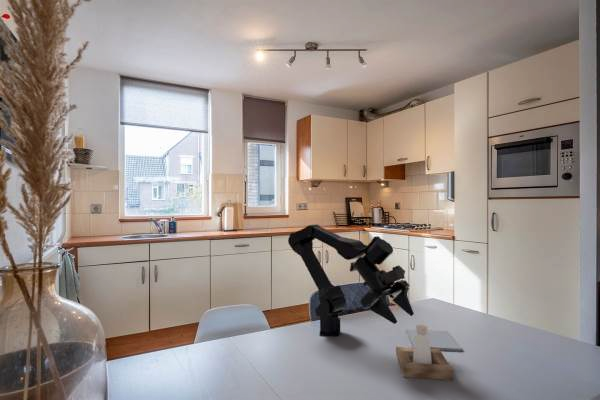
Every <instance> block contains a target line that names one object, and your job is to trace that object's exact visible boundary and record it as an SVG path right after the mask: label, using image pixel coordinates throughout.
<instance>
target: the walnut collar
mask: <svg viewBox="0 0 600 400" xmlns="http://www.w3.org/2000/svg"><path fill="white" fill-rule="evenodd" d="M430 351H431V360H432V364H421V363H413V362H412V361H413V353H414V348H413V347H403V346H395V356H396V359H397V362H398V365H399V368H400V371H401V375H402V378H411V379H412V378H414V379H417V378H418V379H432V380H445V381H446V380H447V381H448V380H449V381H450V380H451V381H453V380H454V371H453V370H454V369H453V368H452V367H451V365H450V363H449V362H448V360H447V358H445V356H444V354H443V353H442V350H439V349H430Z"/></svg>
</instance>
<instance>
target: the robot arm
mask: <svg viewBox="0 0 600 400" xmlns="http://www.w3.org/2000/svg"><path fill="white" fill-rule="evenodd" d="M287 240H288V245H289V247H290V248H291V249H292V251H293V252H294V253H295V254H297V255H298V256H299V257H301V260H302V261H303V263H304V264H305V265H304V266H305V267H306V269H307V271H308V272H309V273H308V274H310V276H311V278H312V280H313V282H314V284H315V287H316V288H317V290H318V301H319V305H317V307H315V308H314V312H315V316H316V317H319V336H328V337H339V336H340V333H341V317H340V316H339V314H342V313H343V312H344V308H345V307H346V304H347V300H346V297H345V296H346V294H345V293H344V292H343V290H342V288H341V286H340V285H333V284H332V282H331V280H330V279H329V277H328V276H327V274H326V272H325V270H324V267H322V264H321V263H320V261H319V258H317V256H316V254H315V252H314V250H313V249H314V248H313V247H314V246H313V245H314V243H313V242H314V240H318V241H319V242H322V243H324V244H325V245H327V246H329V247H331V248H333V249H335V251H336V252H337V254H338V255H339V256H340V257H342V258H343V259H345V260H347V261H350V260H355V259H356V260H355V261H352V262H350V266H349V272H350V273H351V272H356V271H357V273H358V274H359V275H360V277H361V278H362V280H363V281H364V282H363V283H362V284H363V286H364V287H368V288H369V290H368V291H367V292H366V293H365V294H364V295H363V296H362V297H361V298H360V305H361V306H362V308H363V309H364V310H366V309H367V310H368V311H371V312H373V313H375V314H377V315H378V316H380V317H382V318H384V319H385V320H387V321H389V322H391V323H392V324H394V325H395V324H397V323H398V320H397V318H396V316H395V315H394V313H393V312H392V310H391V308H390V306H388V303H387V297H390V298H391V299H392V300H391V301H392V302H393V303H395V305H397V306H398V307H399V308H400V309H402V310H403V311H404V312H405V313H406V314H407V315H409V316H411V317H412V316H414V314H415V312H414V311H413V308H412V305H411V303H410V301H409V296H408V291H409V290H410V288H409V287H410V284H409V283H408V281H407V280H406V277H405V274H406V271H405V269H403V267H401V265H396V266H393V267H392V270H389V271H387V272H386V270H384V269H381V270H380V268H379V267H378V266H377V265H379V266H380V265H382V264H383V263H384V262H385V261H386V260H387V259H388V257H389V256H391V255H392V254H393V252H394V248H393V246H392V245H391V243H390V242H387V241H386V240H384V239H382V238H381V237H380V236H378V235H376V236H374V237H373V238H372V240H371V241H370V242H369V244H368V245H367V244H365V243H364V242H362V241H361V240H357V239H354V238H350V237H349V238H348V237H343V236H341V235H339V234H336V233H335V232H332V231H331V230H328V229H327V228H324V227H322V226H320V225H319V224H309V225H306V226H305V227H304V228H302V229H300V230H297V231H295V232H291V233H290V234H289V237H288V239H287ZM404 279H405V280H404Z"/></svg>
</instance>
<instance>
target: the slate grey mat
mask: <svg viewBox="0 0 600 400" xmlns="http://www.w3.org/2000/svg"><path fill="white" fill-rule="evenodd" d="M404 332H405V334H406V335H407V338H408V340H409V342H410V345H411V347H412V348H414V342H415V334H416V333H417V329H412V328H411V329H409V328H406V329H405V331H404ZM427 335H429V342H430V349H439V350H440V351H447V352H463V348H462V347H461V345H460V344H459V343H458V342H457V341H456V339H455V338H454V336H453V335H452V334H451V333H450V332H449V331H448V330H437V329H435V330H434V329H427Z"/></svg>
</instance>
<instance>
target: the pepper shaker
mask: <svg viewBox="0 0 600 400" xmlns="http://www.w3.org/2000/svg"><path fill="white" fill-rule="evenodd" d="M415 328H416V330H417V333H416V334H415V342H414V353H413V360H412V363H421V364H433V362H432V360H431V351H430V342H429V335H427V330H428V326H427V325H425V324H416V327H415Z"/></svg>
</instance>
